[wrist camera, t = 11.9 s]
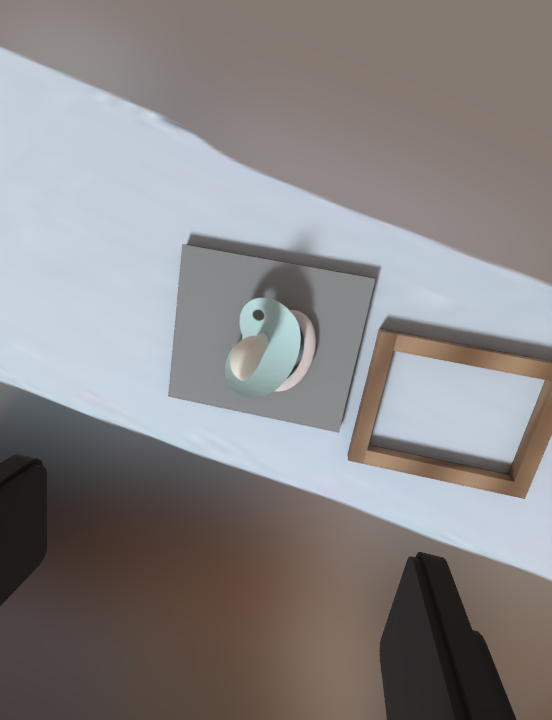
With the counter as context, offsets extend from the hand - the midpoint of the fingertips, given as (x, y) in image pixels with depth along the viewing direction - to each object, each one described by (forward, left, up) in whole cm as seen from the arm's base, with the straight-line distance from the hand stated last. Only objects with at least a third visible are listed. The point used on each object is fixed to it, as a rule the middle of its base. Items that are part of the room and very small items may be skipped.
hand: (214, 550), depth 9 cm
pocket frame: (-13, +2, -21) cm, 25 cm away
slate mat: (+2, 0, -21) cm, 21 cm away
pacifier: (+1, 0, -20) cm, 20 cm away
